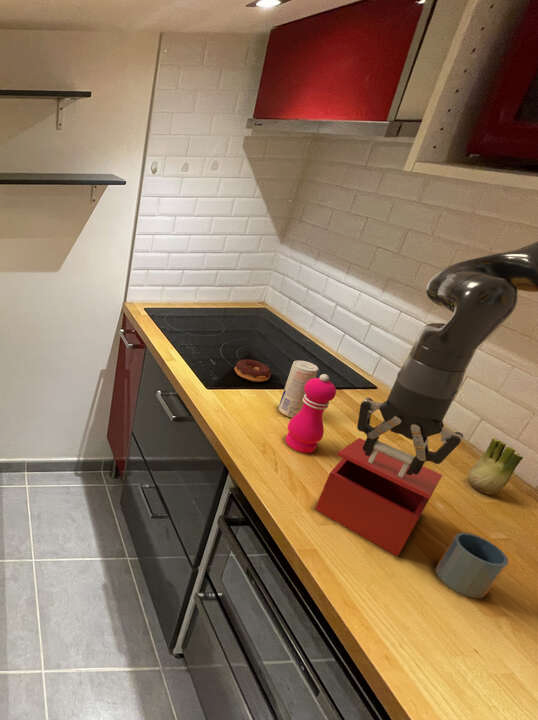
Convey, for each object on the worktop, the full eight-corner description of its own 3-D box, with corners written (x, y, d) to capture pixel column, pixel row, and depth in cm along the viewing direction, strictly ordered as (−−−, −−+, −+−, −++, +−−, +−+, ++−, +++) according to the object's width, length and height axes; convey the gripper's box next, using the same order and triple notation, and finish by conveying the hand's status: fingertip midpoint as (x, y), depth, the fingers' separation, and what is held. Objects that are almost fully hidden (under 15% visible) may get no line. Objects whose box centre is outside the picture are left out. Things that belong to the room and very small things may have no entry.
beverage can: (306, 418, 119) (324, 370, 113) (286, 419, 118) (303, 370, 112) (292, 406, 124) (308, 359, 118) (273, 407, 123) (288, 359, 117)
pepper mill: (276, 438, 111) (299, 369, 103) (298, 432, 113) (322, 364, 105) (301, 457, 105) (328, 385, 97) (324, 451, 107) (352, 380, 99)
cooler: (397, 556, 81) (418, 517, 77) (314, 509, 91) (330, 472, 87) (420, 515, 90) (440, 478, 86) (342, 475, 100) (357, 441, 96)
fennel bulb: (500, 501, 93) (529, 457, 88) (469, 493, 96) (496, 449, 91) (489, 483, 98) (516, 440, 93) (460, 475, 100) (485, 433, 95)
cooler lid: (429, 499, 75) (443, 473, 74) (336, 455, 85) (348, 431, 84) (440, 478, 86) (453, 455, 84) (357, 440, 96) (368, 419, 94)
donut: (238, 364, 145) (240, 353, 143) (271, 374, 139) (275, 363, 138) (229, 376, 138) (232, 365, 136) (265, 388, 132) (268, 376, 131)
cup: (475, 573, 78) (496, 541, 75) (492, 604, 73) (516, 572, 70) (430, 558, 81) (449, 527, 78) (443, 588, 76) (464, 556, 72)
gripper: (489, 397, 72) (444, 477, 79) (380, 361, 82) (349, 435, 89) (480, 413, 67) (434, 496, 74) (367, 373, 78) (335, 449, 85)
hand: (388, 462), depth 82 cm, fingers closed on cooler lid, 5 cm apart
